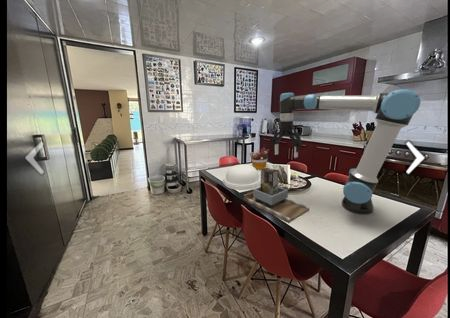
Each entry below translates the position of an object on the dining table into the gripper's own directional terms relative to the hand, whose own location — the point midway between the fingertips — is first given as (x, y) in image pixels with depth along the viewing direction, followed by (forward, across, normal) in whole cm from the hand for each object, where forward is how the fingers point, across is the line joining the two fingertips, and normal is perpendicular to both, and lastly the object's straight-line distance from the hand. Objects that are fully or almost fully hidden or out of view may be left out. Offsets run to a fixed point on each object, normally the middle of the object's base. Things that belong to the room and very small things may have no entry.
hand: (285, 155), depth 119 cm
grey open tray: (+28, -4, -10) cm, 30 cm away
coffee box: (+24, -5, -10) cm, 26 cm away
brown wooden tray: (+29, 0, -11) cm, 31 cm away
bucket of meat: (+28, -57, +40) cm, 75 cm away
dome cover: (+29, -41, +2) cm, 50 cm away
